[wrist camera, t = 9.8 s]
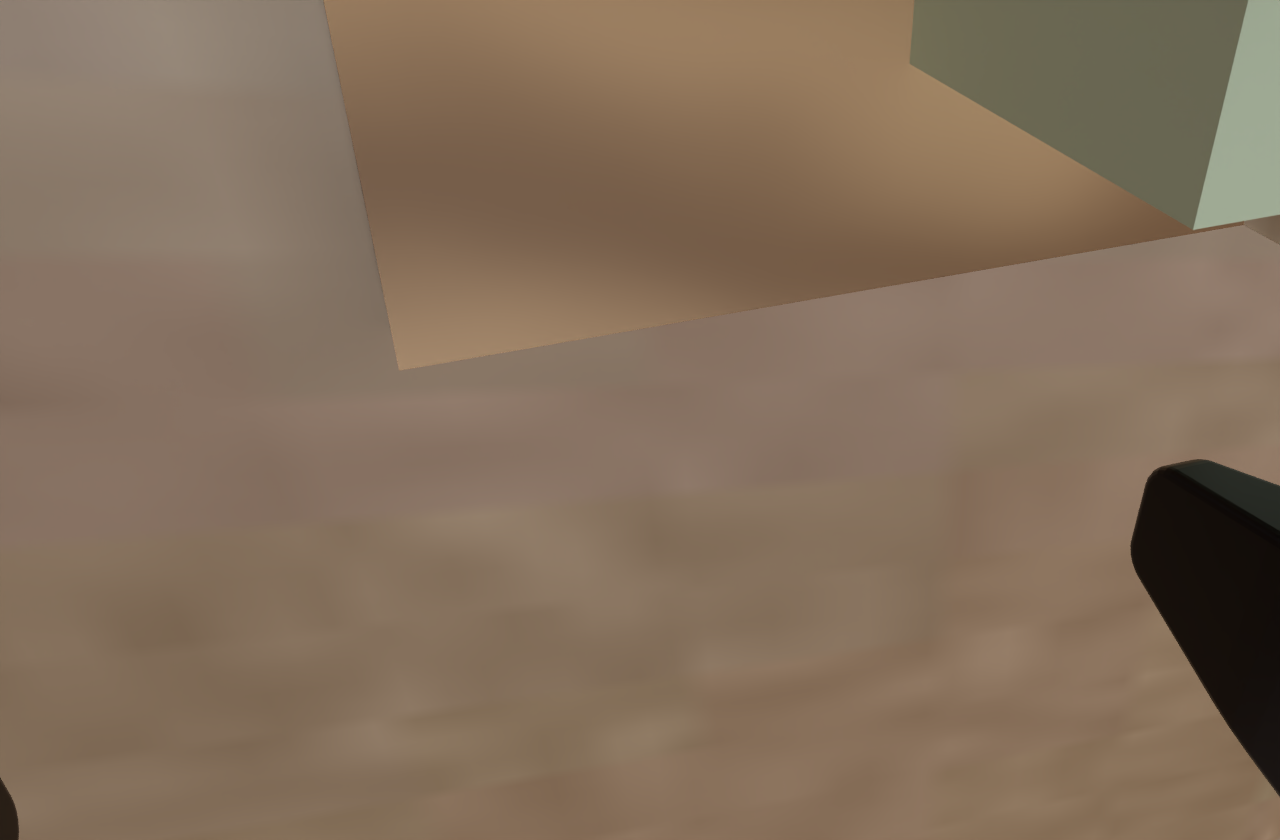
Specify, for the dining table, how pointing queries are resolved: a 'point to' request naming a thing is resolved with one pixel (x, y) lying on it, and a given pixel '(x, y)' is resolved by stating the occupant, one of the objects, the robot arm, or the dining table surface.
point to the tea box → (1128, 90)
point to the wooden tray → (681, 165)
